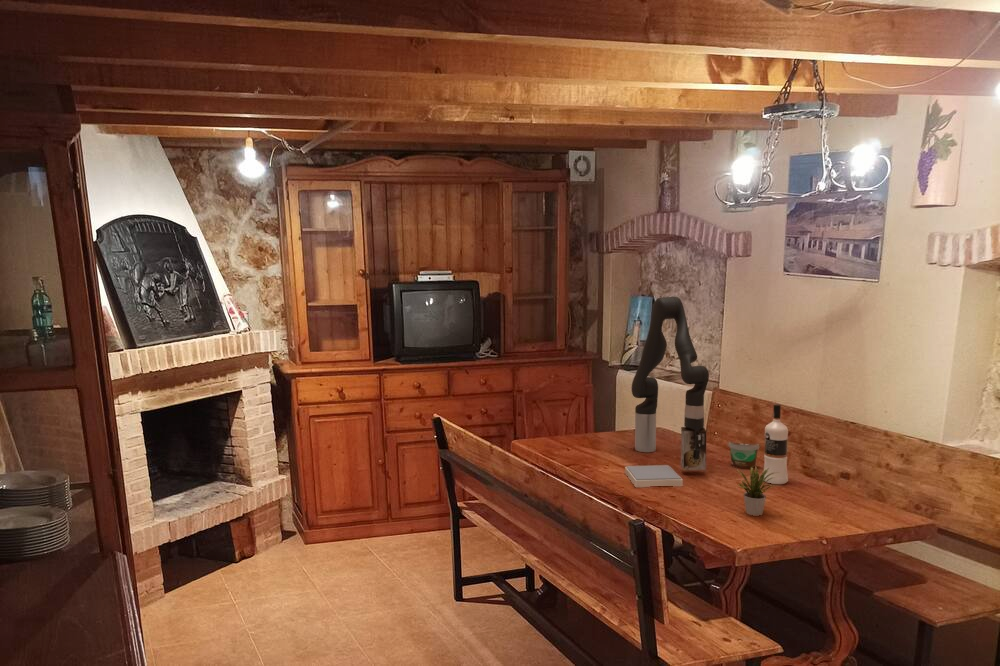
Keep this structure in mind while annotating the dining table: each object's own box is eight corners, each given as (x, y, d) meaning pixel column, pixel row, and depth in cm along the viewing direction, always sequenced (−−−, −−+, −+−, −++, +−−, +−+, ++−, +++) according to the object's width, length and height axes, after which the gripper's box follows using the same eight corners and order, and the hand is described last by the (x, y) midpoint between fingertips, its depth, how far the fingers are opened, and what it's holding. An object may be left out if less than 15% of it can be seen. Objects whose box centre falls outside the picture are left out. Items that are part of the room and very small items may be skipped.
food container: (726, 468, 287) (727, 444, 286) (727, 464, 293) (728, 440, 292) (758, 471, 282) (759, 446, 281) (759, 466, 288) (759, 443, 287)
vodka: (792, 484, 264) (794, 406, 262) (768, 485, 264) (770, 407, 261) (781, 477, 274) (783, 402, 271) (758, 477, 273) (760, 402, 270)
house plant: (789, 519, 229) (791, 470, 228) (753, 524, 225) (755, 474, 224) (761, 505, 243) (763, 459, 241) (727, 509, 239) (728, 462, 237)
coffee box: (703, 465, 282) (704, 426, 281) (706, 470, 276) (707, 430, 274) (680, 465, 283) (681, 426, 282) (682, 470, 277) (683, 430, 275)
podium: (625, 473, 281) (625, 465, 281) (669, 472, 282) (669, 464, 282) (635, 487, 263) (635, 479, 263) (682, 486, 264) (682, 478, 264)
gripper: (679, 411, 284) (678, 451, 286) (690, 420, 270) (689, 461, 272) (697, 411, 285) (696, 451, 286) (709, 419, 270) (708, 461, 272)
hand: (693, 456), depth 279 cm, fingers closed on coffee box, 7 cm apart
